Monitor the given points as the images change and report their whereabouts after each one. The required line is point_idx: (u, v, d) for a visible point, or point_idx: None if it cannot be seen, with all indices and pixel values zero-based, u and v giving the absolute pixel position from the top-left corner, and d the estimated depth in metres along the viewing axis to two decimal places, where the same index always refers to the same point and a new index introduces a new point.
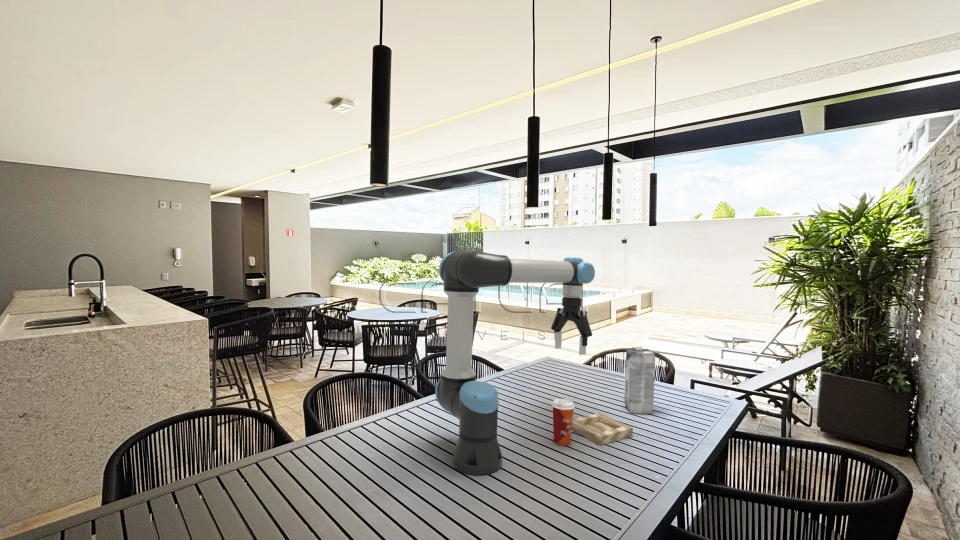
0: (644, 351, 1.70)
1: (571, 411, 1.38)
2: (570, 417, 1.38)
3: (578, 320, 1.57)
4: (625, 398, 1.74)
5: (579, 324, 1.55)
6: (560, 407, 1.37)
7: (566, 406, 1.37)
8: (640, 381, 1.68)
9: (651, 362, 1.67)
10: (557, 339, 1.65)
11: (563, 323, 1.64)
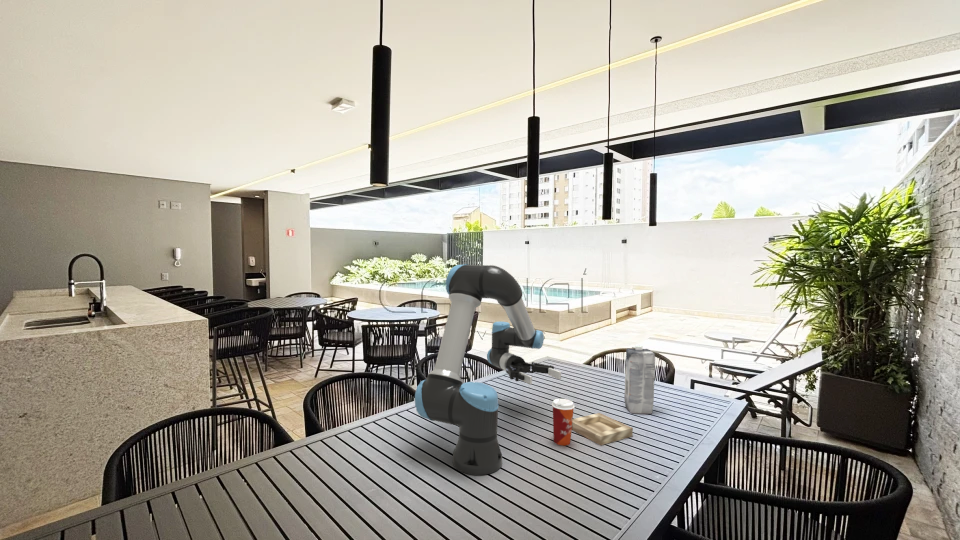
0: (644, 351, 1.70)
1: (571, 411, 1.38)
2: (570, 417, 1.38)
3: None
4: (625, 398, 1.74)
5: None
6: (560, 407, 1.37)
7: (566, 406, 1.37)
8: (640, 381, 1.68)
9: (651, 362, 1.67)
10: None
11: None
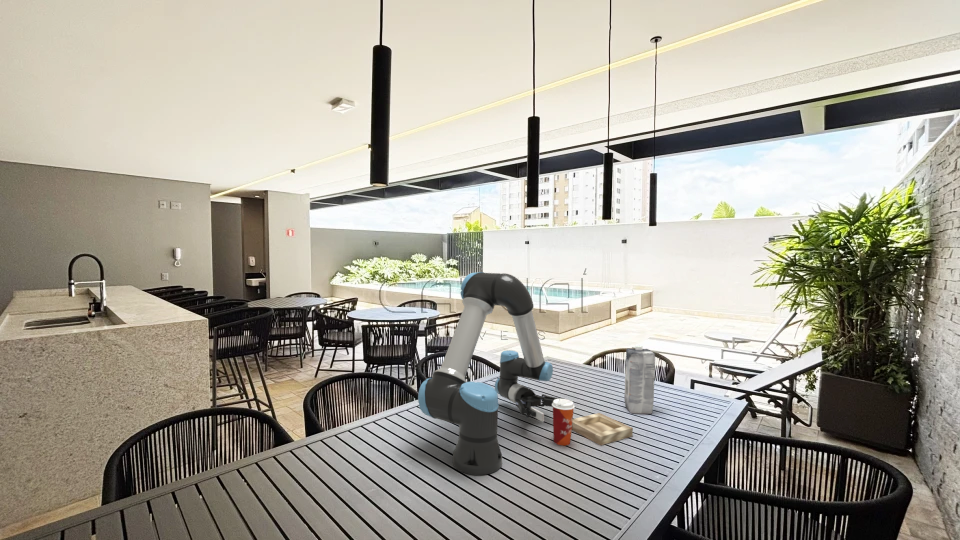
0: (644, 351, 1.70)
1: (571, 411, 1.38)
2: (570, 417, 1.38)
3: None
4: (625, 398, 1.74)
5: None
6: (560, 407, 1.37)
7: (566, 406, 1.37)
8: (640, 381, 1.68)
9: (651, 362, 1.67)
10: None
11: (530, 406, 1.51)
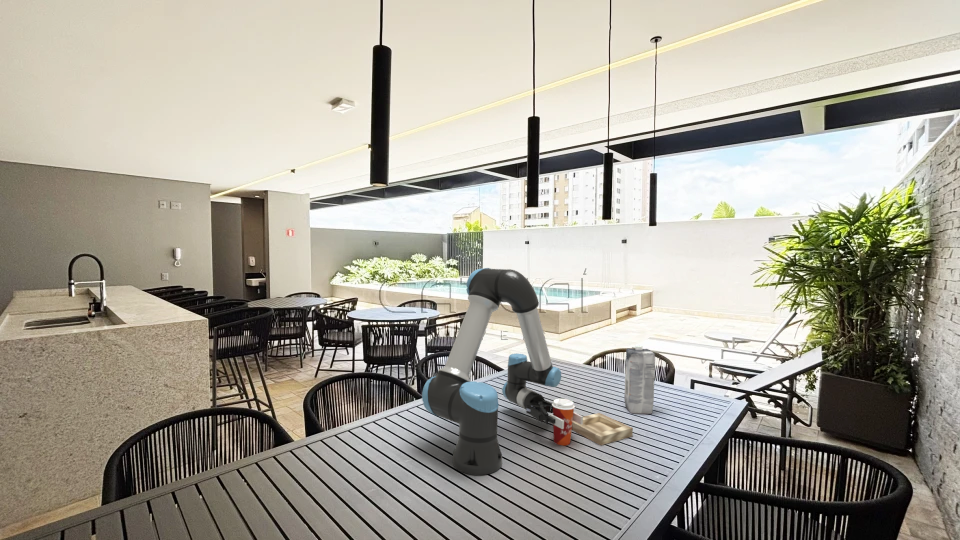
0: (644, 351, 1.70)
1: (571, 411, 1.38)
2: (570, 417, 1.38)
3: None
4: (625, 398, 1.74)
5: None
6: (560, 407, 1.37)
7: (566, 405, 1.37)
8: (640, 381, 1.68)
9: (651, 362, 1.67)
10: None
11: None
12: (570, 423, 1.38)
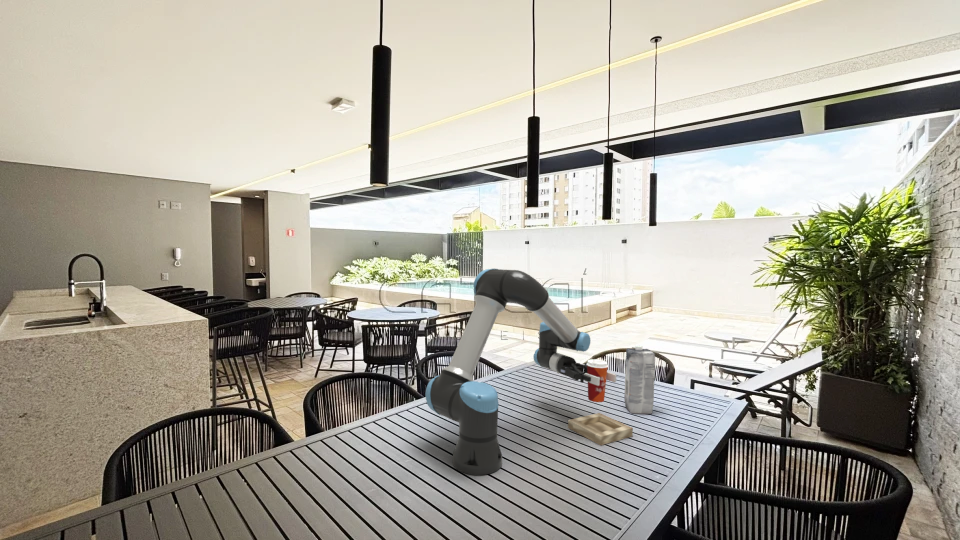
0: (644, 351, 1.70)
1: (605, 370, 1.46)
2: (604, 375, 1.46)
3: None
4: (625, 398, 1.74)
5: None
6: (595, 366, 1.45)
7: (601, 364, 1.45)
8: (640, 381, 1.68)
9: (651, 362, 1.67)
10: None
11: None
12: (604, 381, 1.46)
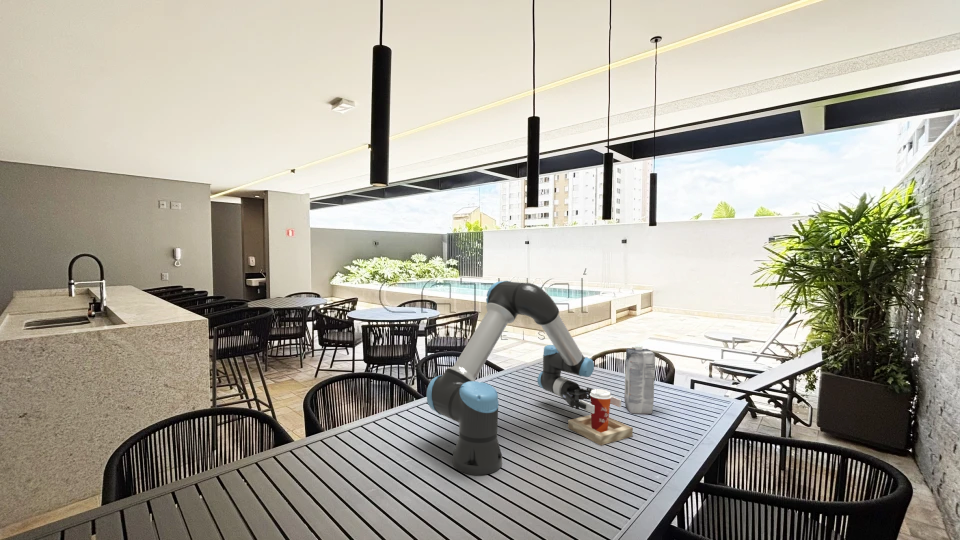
0: (644, 351, 1.70)
1: (609, 400, 1.47)
2: (608, 406, 1.47)
3: None
4: (625, 398, 1.74)
5: None
6: (598, 397, 1.47)
7: (604, 395, 1.46)
8: (640, 381, 1.68)
9: (651, 362, 1.67)
10: None
11: None
12: (608, 412, 1.47)
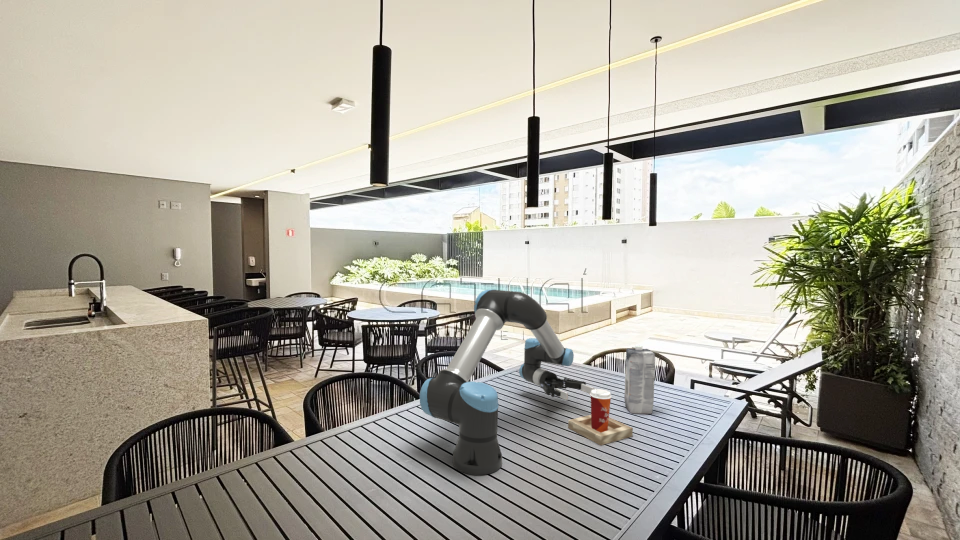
0: (644, 351, 1.70)
1: (609, 400, 1.47)
2: (608, 406, 1.47)
3: None
4: (625, 398, 1.74)
5: None
6: (599, 397, 1.47)
7: (604, 395, 1.46)
8: (640, 381, 1.68)
9: (651, 362, 1.67)
10: None
11: None
12: (608, 412, 1.48)
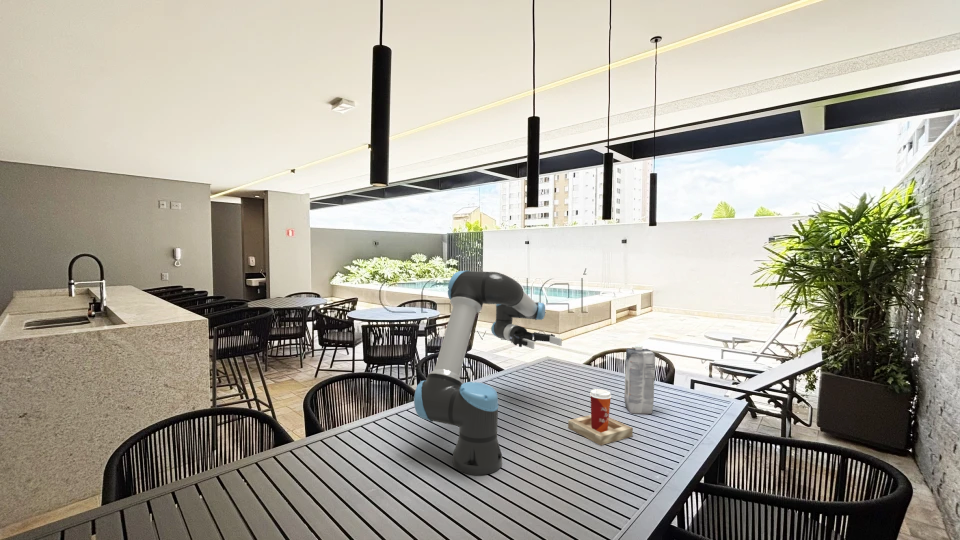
0: (644, 351, 1.70)
1: (609, 400, 1.47)
2: (608, 406, 1.47)
3: None
4: (625, 398, 1.74)
5: None
6: (598, 396, 1.47)
7: (604, 395, 1.46)
8: (640, 381, 1.68)
9: (651, 362, 1.67)
10: None
11: None
12: (608, 412, 1.48)
